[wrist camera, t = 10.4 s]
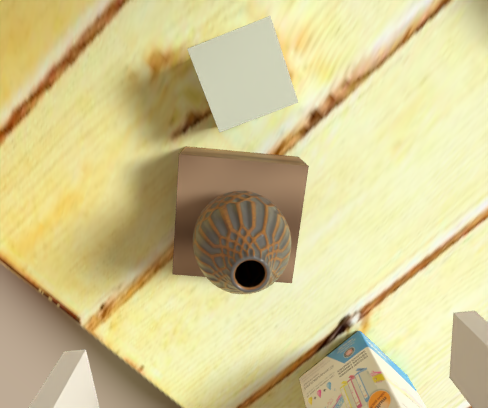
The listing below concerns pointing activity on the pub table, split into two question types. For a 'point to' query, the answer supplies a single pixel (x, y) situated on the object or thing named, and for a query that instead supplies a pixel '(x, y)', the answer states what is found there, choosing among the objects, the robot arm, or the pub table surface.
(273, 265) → the vase
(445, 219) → the pub table surface
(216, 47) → the sage cube
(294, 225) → the plinth
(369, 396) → the ink box
